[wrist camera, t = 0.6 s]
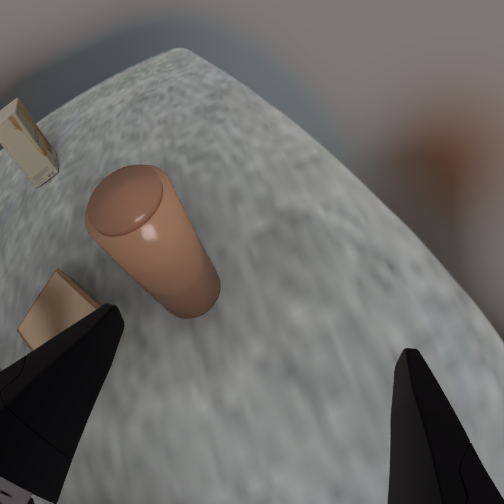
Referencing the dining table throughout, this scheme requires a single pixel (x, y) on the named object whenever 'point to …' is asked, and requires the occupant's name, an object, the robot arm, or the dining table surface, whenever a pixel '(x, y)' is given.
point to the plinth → (55, 310)
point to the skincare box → (27, 143)
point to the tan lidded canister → (153, 239)
